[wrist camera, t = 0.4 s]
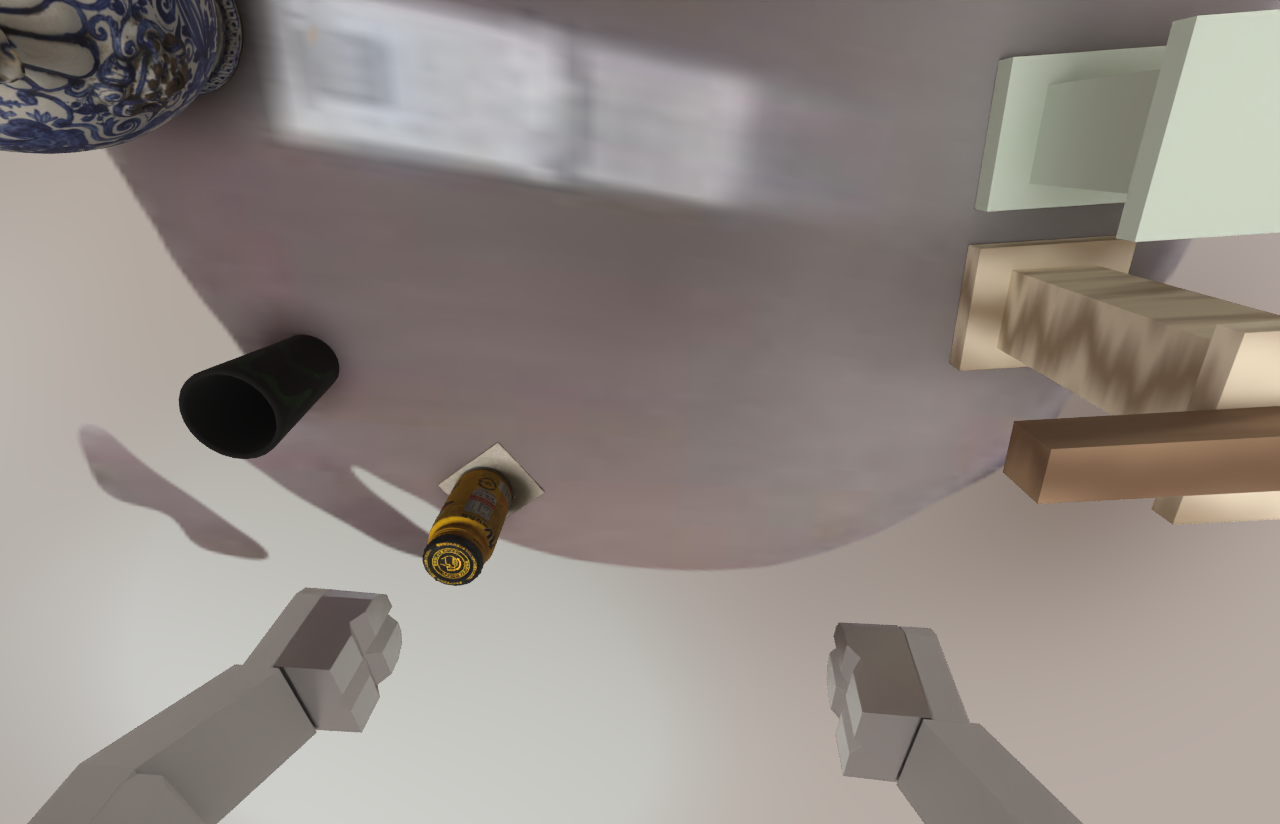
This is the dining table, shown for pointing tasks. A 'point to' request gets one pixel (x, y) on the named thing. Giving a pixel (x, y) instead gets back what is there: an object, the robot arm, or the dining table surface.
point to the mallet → (1146, 455)
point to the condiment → (475, 515)
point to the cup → (257, 396)
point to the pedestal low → (1146, 131)
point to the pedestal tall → (1120, 343)
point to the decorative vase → (107, 68)
